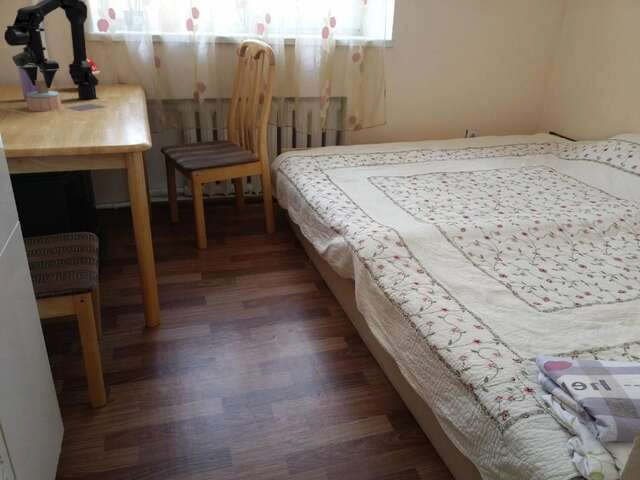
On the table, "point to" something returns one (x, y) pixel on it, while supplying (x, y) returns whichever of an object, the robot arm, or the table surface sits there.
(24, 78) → the purple rectangular block
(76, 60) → the robot arm
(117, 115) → the table surface
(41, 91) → the lid
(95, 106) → the mat
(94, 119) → the table surface
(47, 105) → the bowl
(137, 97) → the table surface
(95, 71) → the decorative mushroom
